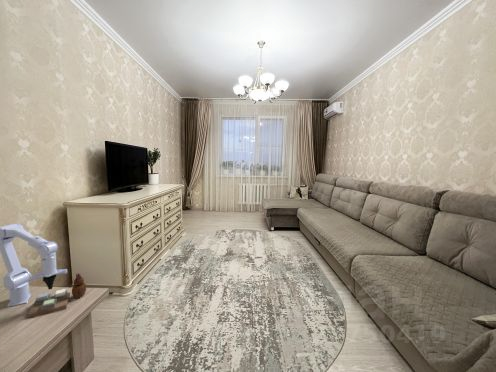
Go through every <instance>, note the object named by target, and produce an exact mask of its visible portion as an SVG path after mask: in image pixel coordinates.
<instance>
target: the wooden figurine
mask: <svg viewBox="0 0 496 372" xmlns="http://www.w3.org/2000/svg"><path fill="white" fill-rule="evenodd" d="M75 276H76V278H75V279H74V280H73V286H72V288H71V295H72V297H73V298H75V299H80V298H82V297H83V296H85V294H86V291H87V284H86V283H85V278H84V277H83V276H81V274H80V273H76V274H75Z"/></svg>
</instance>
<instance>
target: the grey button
mask: <svg viewBox="0 0 496 372" xmlns="http://www.w3.org/2000/svg"><path fill="white" fill-rule="evenodd" d="M49 294H50V293H49V292H45V293H39V294H38V295H37V297H36V299H37V301H39V300H44V299H48V297H49Z"/></svg>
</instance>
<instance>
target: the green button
mask: <svg viewBox="0 0 496 372" xmlns="http://www.w3.org/2000/svg"><path fill="white" fill-rule="evenodd" d="M54 302H55V299H51V300H46V301H45V302H44V304H43V306H46V305H50V304H54Z"/></svg>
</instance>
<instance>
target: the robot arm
mask: <svg viewBox="0 0 496 372" xmlns="http://www.w3.org/2000/svg"><path fill="white" fill-rule="evenodd" d="M15 238H18V239H20V240H24V241H26V242H27V243H28V244H27V245H28V246H30V247H31V248H32V249H34V250H37V252H38V254H39V256H40V259H41V267H42V272H40V273H39V272H38V273H35V274H32V273H30V271H29V269H28V268H25V267H22V265H21V263H20V260H19V256H18V255H17V251H16V250H15V247H14V244H13V241H14V239H15ZM58 250H59V244H58V243H57V242H56V241H49V240H47V239H45V238H43V237H41V236H40V235H36V236H34V235H33V234H31V233H30V232H28V231H27V230H25V228H24V226H23V224H21V223H18V222H15V223H12V224H8V225H7V224H6V225H3V226H2V225H1V226H0V255H1V257H2V260H3V262H4V266H5V268H6V271H7V273H6V274H5V275H4V276H3V277H2V280H3V287H4V288H5V289H6V290H7V291H8V292H9V303H8V304H7V306H6V307H7V308H8V307H9V308H10V307H13V306H17V305H22V304H27V303H28V301H29V300H30V299H31V297H32V295H33V294H32V293H30V285H29V284H30V281H31V280H36V279H41V278H42V282H44V283H45V284H46V286H47V288H48V290H52V289H53V287H54V283H55V281H56V277H57V276H58V275H66V274H67V273H68V269H67V268H65V269H57V251H58Z"/></svg>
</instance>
